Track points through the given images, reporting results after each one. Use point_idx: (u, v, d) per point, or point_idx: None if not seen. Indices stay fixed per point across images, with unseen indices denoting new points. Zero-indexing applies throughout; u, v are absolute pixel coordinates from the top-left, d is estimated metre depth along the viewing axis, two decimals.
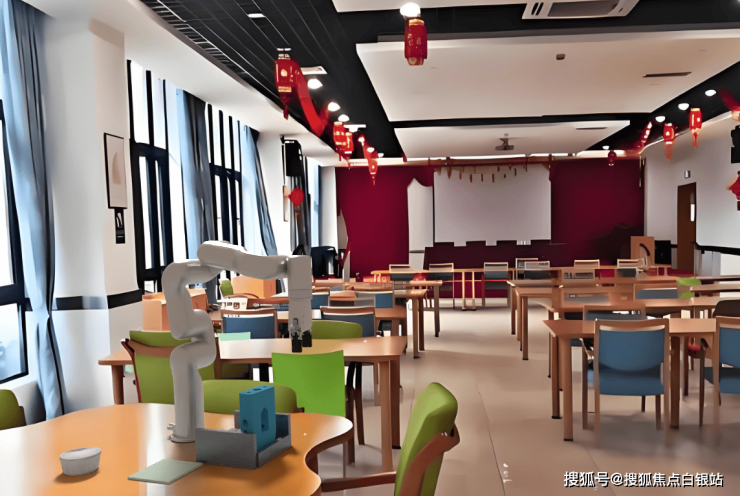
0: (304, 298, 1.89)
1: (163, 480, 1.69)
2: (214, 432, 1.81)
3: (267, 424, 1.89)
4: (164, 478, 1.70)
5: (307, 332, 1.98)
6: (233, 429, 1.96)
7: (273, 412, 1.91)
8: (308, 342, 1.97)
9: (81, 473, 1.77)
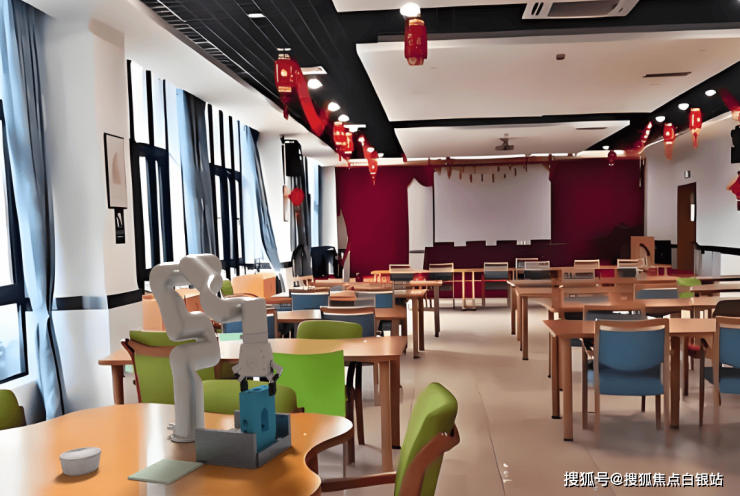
0: None
1: (163, 480, 1.69)
2: (214, 432, 1.81)
3: (267, 424, 1.89)
4: (164, 478, 1.70)
5: (244, 378, 1.90)
6: (233, 429, 1.96)
7: (273, 412, 1.91)
8: (246, 388, 1.90)
9: (81, 473, 1.77)
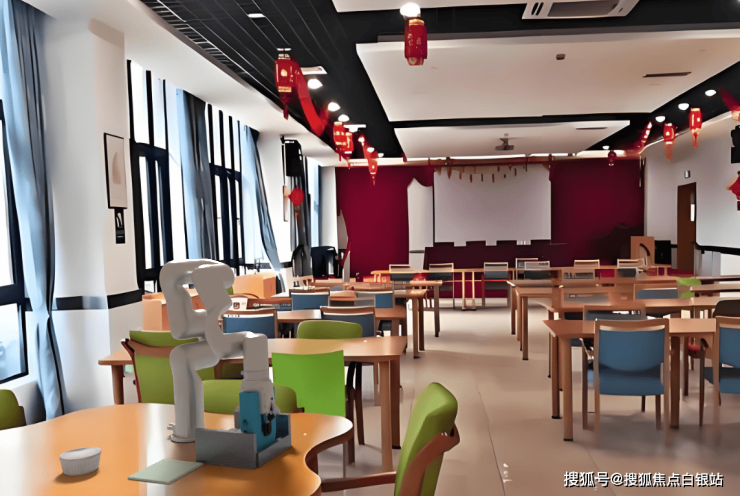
0: None
1: (163, 480, 1.69)
2: (214, 432, 1.81)
3: None
4: (164, 478, 1.70)
5: None
6: (233, 429, 1.96)
7: None
8: None
9: (81, 473, 1.77)
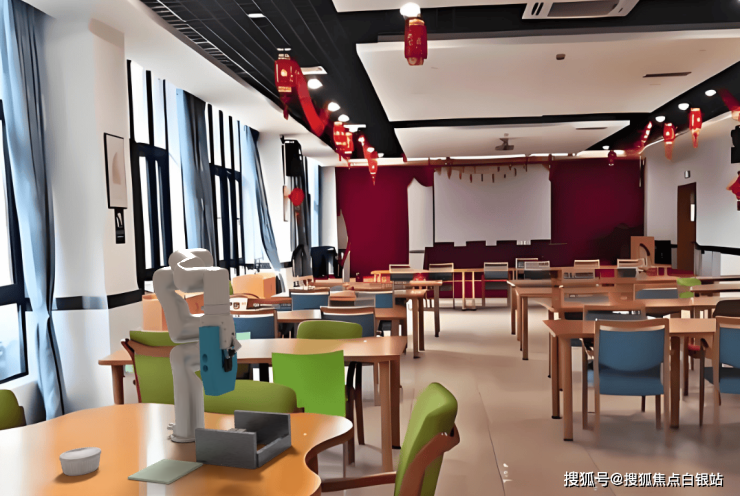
0: None
1: (163, 480, 1.69)
2: (214, 432, 1.81)
3: None
4: (164, 478, 1.70)
5: None
6: (233, 429, 1.96)
7: None
8: None
9: (81, 473, 1.77)
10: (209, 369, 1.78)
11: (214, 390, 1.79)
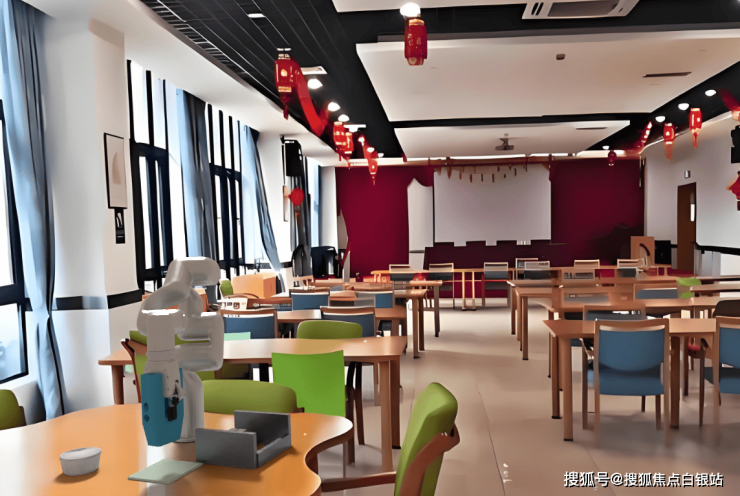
0: None
1: (163, 480, 1.69)
2: (214, 432, 1.81)
3: None
4: (164, 478, 1.70)
5: None
6: (233, 429, 1.96)
7: None
8: None
9: (81, 473, 1.77)
10: (150, 419, 1.71)
11: (156, 441, 1.72)
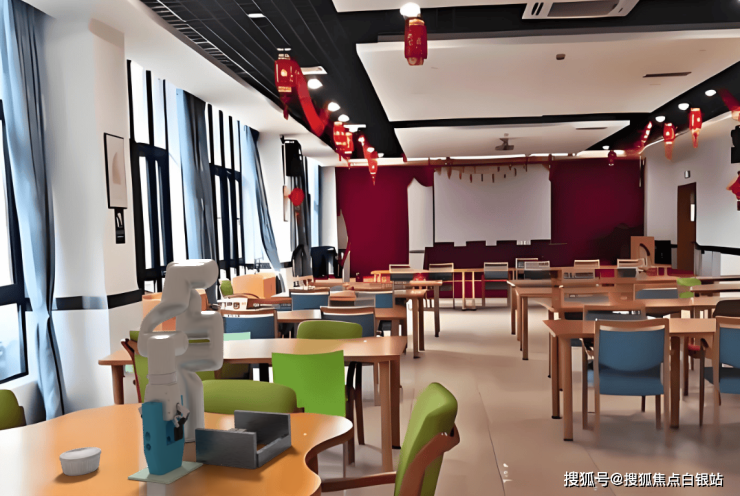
0: None
1: (163, 480, 1.69)
2: (214, 432, 1.81)
3: None
4: (164, 478, 1.70)
5: None
6: (233, 429, 1.96)
7: None
8: None
9: (81, 473, 1.77)
10: (152, 448, 1.71)
11: (158, 470, 1.72)
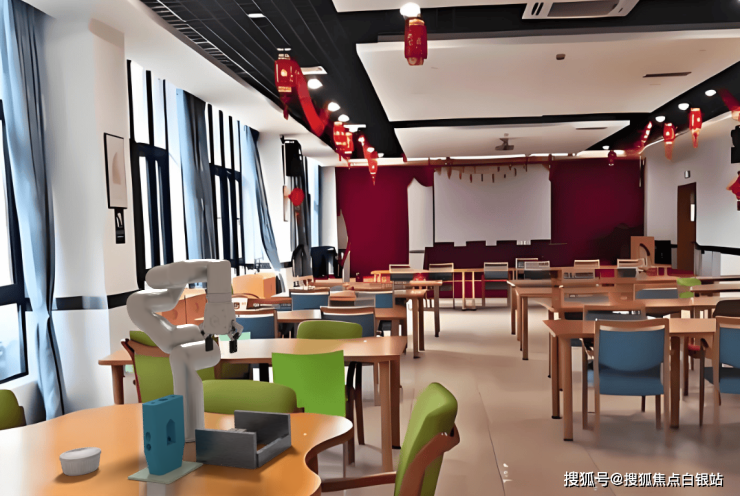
0: (231, 300, 1.99)
1: (163, 480, 1.69)
2: (214, 432, 1.81)
3: (174, 436, 1.78)
4: (164, 478, 1.70)
5: (209, 336, 2.01)
6: (233, 429, 1.96)
7: (181, 423, 1.80)
8: (211, 345, 2.01)
9: (81, 473, 1.77)
10: (152, 448, 1.71)
11: (158, 470, 1.72)
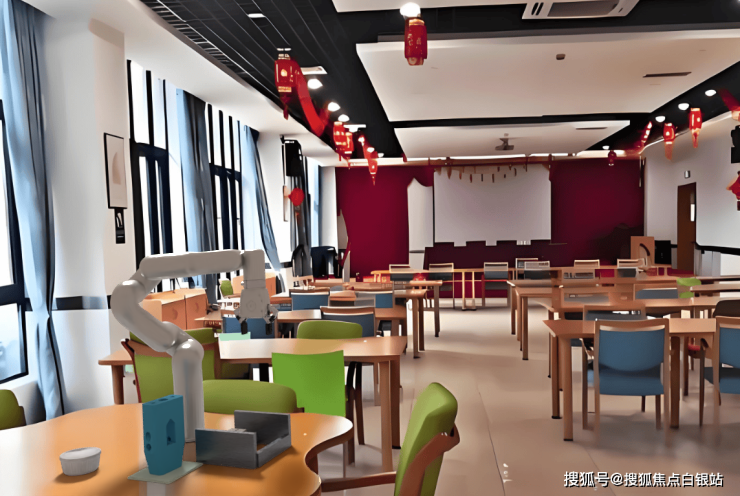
0: None
1: (163, 480, 1.69)
2: (214, 432, 1.81)
3: (174, 436, 1.78)
4: (164, 478, 1.70)
5: (244, 320, 2.15)
6: (233, 429, 1.96)
7: (181, 423, 1.80)
8: (246, 329, 2.16)
9: (81, 473, 1.77)
10: (152, 448, 1.71)
11: (158, 470, 1.72)
